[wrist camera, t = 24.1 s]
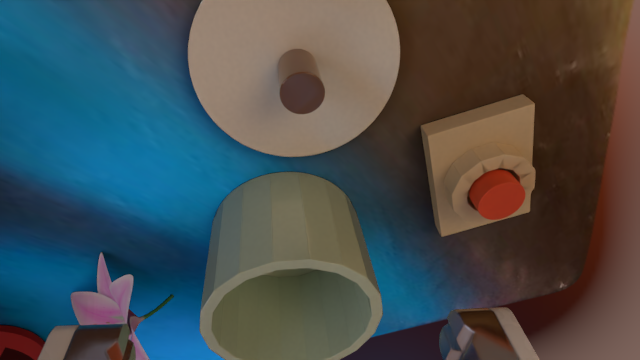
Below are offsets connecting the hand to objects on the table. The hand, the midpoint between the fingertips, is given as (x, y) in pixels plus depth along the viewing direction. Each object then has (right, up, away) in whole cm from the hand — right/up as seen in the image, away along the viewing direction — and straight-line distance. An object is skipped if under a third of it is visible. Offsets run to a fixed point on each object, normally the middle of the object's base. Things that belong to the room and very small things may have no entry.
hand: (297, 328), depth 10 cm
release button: (+14, +3, +21) cm, 26 cm away
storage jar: (-2, -1, +26) cm, 26 cm away
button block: (+14, +5, +24) cm, 28 cm away
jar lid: (-1, +11, +16) cm, 20 cm away
